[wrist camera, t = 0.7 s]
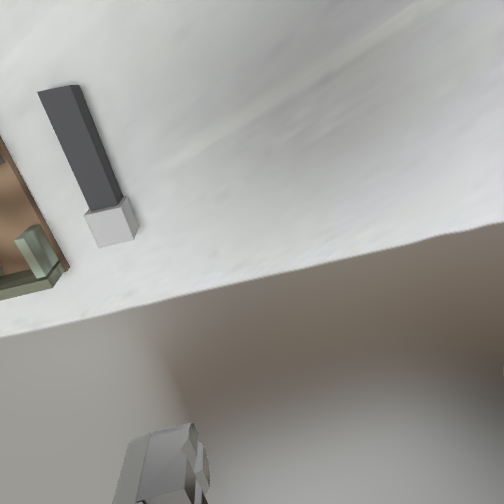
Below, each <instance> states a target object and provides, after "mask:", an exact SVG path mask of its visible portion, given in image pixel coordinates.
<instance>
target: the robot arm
mask: <svg viewBox="0 0 504 504" xmlns="http://www.w3.org/2000/svg"><path fill="white" fill-rule="evenodd" d="M209 487H210V472H209V464H208V458H207V454H206V451H205V448H204V446H203V444H201V443H199V442H198V431H197V429H196V427H195V425H194V423H189V424H185V425H181V426H176V427H172V428H168V429H164V430H159V431H155V432H152V433H148V434H144V435H139V436H135V437H133V438H132V439H131V441H130V442H129V444H128V448H127V451H126V455H125V459H124V462H123V466H122V470H121V474H120V477H119V481H118V484H117V488H116V492H115V495H114V499H113V503H112V504H208V503H207V500H206V498H205V494H206V493H207V491H208V489H209Z"/></svg>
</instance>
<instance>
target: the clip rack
mask: <svg viewBox="0 0 504 504" xmlns="http://www.w3.org/2000/svg"><path fill="white" fill-rule="evenodd" d="M69 268H70V267H69V265H68V263H67V261H66V259H65V257H64V255H63V254H62V252H61V250H60V248H59V246H58V244H57V242H56V240H55V239H54V237H53V235H52V233H51V231H50V229H49V227H48V225H47V224H46V222H45V220H44V218H43V216H42V214H41V212H40V210H39V208H38V207H37V205H36V203H35V201H34V199H33V197H32V195H31V193H30V192H29V190H28V188H27V186H26V184H25V182H24V180H23V178H22V177H21V175H20V173H19V171H18V169H17V167H16V165H15V163H14V162H13V160H12V158H11V156H10V154H9V152H8V150H7V148H6V147H5V145H4V143H3V141H2V139H1V137H0V300H4V299H9V298H13V297H17V296H21V295H25V294H29V293H34V292H38V291H42V290H46V289H50V288H53V287H54V285H55V284H56V282H57V281H58V279H59V278H60V277H61V275H62V274H63V272H66V271H68V269H69Z"/></svg>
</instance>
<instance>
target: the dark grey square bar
mask: <svg viewBox="0 0 504 504" xmlns="http://www.w3.org/2000/svg"><path fill="white" fill-rule="evenodd" d="M37 93H38V95H39V98H40V100H41V102H42V104H43V106H44V109H45V111H46V113H47V115H48V117H49V120H50V122H51V124H52V126H53V129H54V131H55V133H56V135H57V137H58V140H59V142H60V144H61V146H62V148H63V151H64V153H65V155H66V157H67V160H68V162H69V164H70V166H71V168H72V171H73V173H74V175H75V177H76V179H77V182H78V184H79V186H80V188H81V191H82V193H83V195H84V197H85V199H86V202H87V204H88V206H89V208H90V209H89V210H88V211H87V212H86V214H85V215H84V217H85V220H86V222H87V224H88V226H89V228H90V230H91V232H92V235H93V237H94V239H95V241H96V243H97V245H98V247H99V248H101V247H106V246H110V245H114V244H118V243H123V242H127V241H131V240H134V238H135V236H136V233H137V230H138V228H139V225H138V223H137V220H136V217H135V215H134V212H133V210H132V207H131V204H130V202H129V199H128V197H127V196H126V197H123V196H122V193H121V190H120V188H119V185H118V183H117V180H116V178H115V175H114V173H113V170H112V167H111V165H110V162H109V160H108V157H107V155H106V152H105V150H104V147H103V145H102V142H101V139H100V137H99V134H98V132H97V129H96V127H95V124H94V122H93V119H92V116H91V114H90V111H89V109H88V106H87V104H86V101H85V99H84V96H83V93H82V91H81V88H80V86H79V85H69V86H64V87H59V88H54V89H49V90H44V91H40V92H37Z"/></svg>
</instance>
